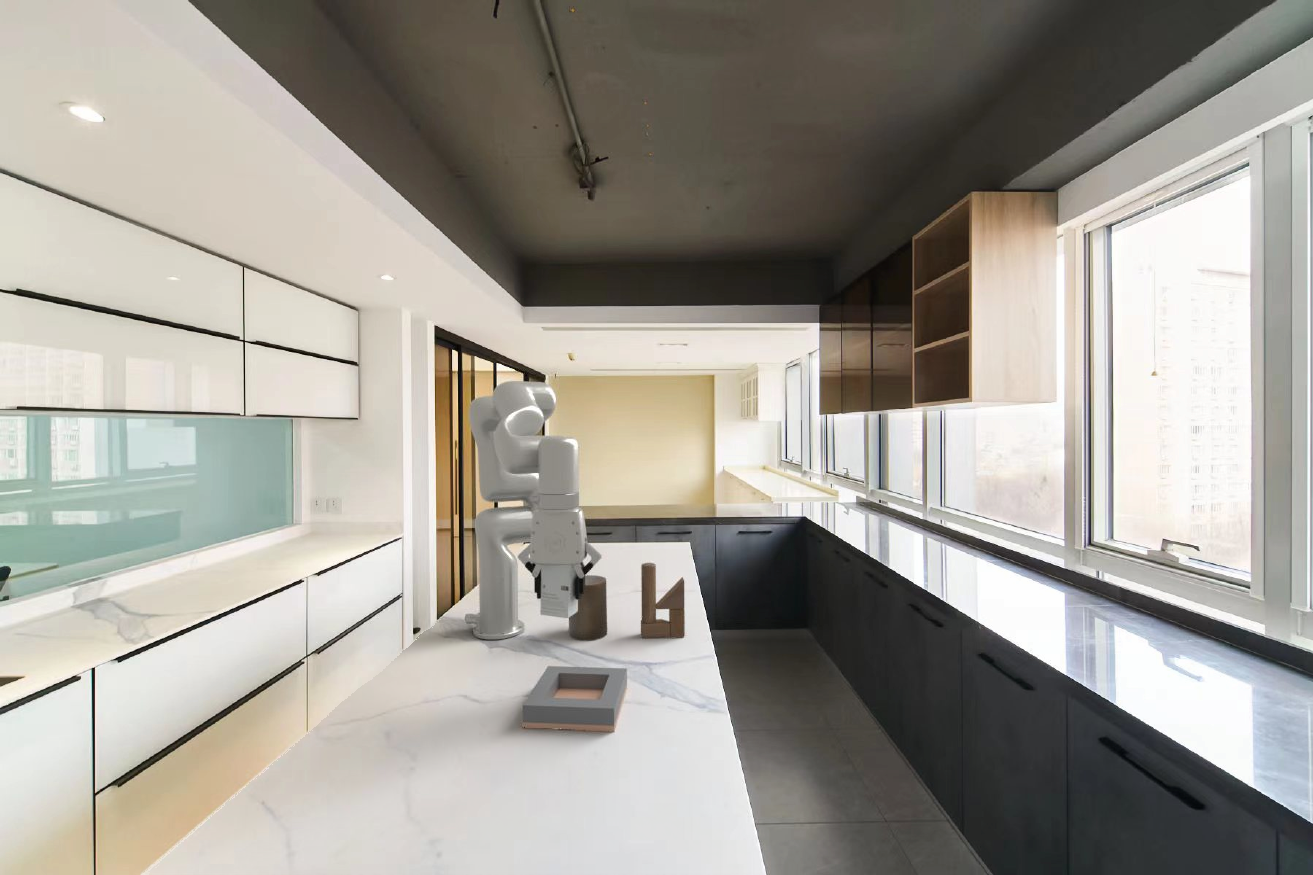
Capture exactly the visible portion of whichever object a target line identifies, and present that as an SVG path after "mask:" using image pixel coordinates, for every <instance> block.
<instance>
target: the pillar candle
mask: <svg viewBox="0 0 1313 875" xmlns="http://www.w3.org/2000/svg"><path fill="white" fill-rule="evenodd" d="M607 600H608V599H607V578H606V577H605V576H601V575H594V574H593V575H592V574H590V575H589V574H586V575H585V593H584V594H583V595H582V597H581V598H580V599H579V600H578V611H577V612H576V613H575V614H574V615H572V616H570V617H569V618H568V635H569V638H572V639H574V640H579V641H594V640H598V639H601V638H603V637H605V636H606V635H608V611H607V610H608V607H607V606H608V605H607V604H608V603H607V602H608V601H607Z"/></svg>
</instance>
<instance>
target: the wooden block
mask: <svg viewBox="0 0 1313 875" xmlns="http://www.w3.org/2000/svg"><path fill="white" fill-rule="evenodd" d="M656 566H657V565H656V563H654V562H643V563H642V564H641V567H640V569H641V574H640V575H641V578H640V580H641V583H640V584H641V585H640V586H641V619H640V637H641V639H658V638H659V639H660V638H661V639H663V638H666V637H667V638H671V637H672V638H673V637H675V638H685V636H686V634H685V633H686V632H685V631H686V630H685V629H686V628H685V626H686V625H685V624H686V623H685V622H686V621H685V620H686V618H685V616H686V615H685V579H684V577H683V576H682V577H681V578H680V579H679V580H678V581H676V583H675V584H674V585H673V586H672V587H671V588H670V589H669V590H668V591H667V592H666V593H665V594H664V595H663V597H661V598H660V599H659V600H658V602H657V578H656V577H657V574H656V573H657V569H656V568H657V567H656ZM657 610H668V616H669V617H668V618H669V619H668V620H666V619H663V618H658V619H657ZM672 638H671V639H672Z"/></svg>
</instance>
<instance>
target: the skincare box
mask: <svg viewBox="0 0 1313 875" xmlns="http://www.w3.org/2000/svg"><path fill="white" fill-rule="evenodd" d="M576 577H577V573H576V571H575V569H574V567H573V565H542V568H541V598H540V610H539V612H540V615H541V616H549V617H556V618H561V619H567V618H568V619H569V617H570V616H572V615H574V614H575V613H576V612H577V611H578V600H576V599H575V578H576Z"/></svg>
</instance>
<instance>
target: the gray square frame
mask: <svg viewBox="0 0 1313 875" xmlns="http://www.w3.org/2000/svg"><path fill="white" fill-rule="evenodd" d="M627 690H628V667H627V668H623V667H621V668H620V667H594V666H593V667H587V666H564V665H563V666H561V665H559V666H557V665H548V666H547V667H546V668H545V670H544V672H543V673H542V675H541V676H540V677H539V679H538V681H537V683H536V684H535V686H534V687H533V688H532V690H531V692H530V693H529V694H528V696H527V698H526V699H525V701H524V702H523V704H522V729H533V728H558V729H560V728H561V729H572V730H571V731H583V730H585V731H587V732H588V731H589V732H608V731H609V732H611V733H614V732H616V731H615V730H616V728H617V723H618V721H619V718H620V713H621V711H622V710H621V709H622V707H623V704H624V700H625V698H626V694H627ZM524 727H525V728H524ZM558 729H557V730H558ZM573 729H575V730H573Z"/></svg>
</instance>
